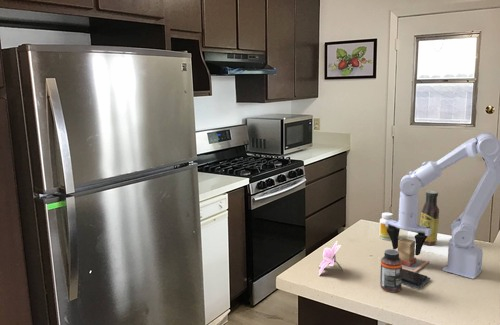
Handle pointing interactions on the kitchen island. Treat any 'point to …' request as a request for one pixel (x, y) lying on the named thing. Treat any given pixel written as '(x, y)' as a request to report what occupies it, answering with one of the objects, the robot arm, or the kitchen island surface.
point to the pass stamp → (407, 252)
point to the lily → (329, 257)
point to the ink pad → (414, 279)
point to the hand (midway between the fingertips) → (406, 251)
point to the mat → (416, 265)
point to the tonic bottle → (430, 216)
